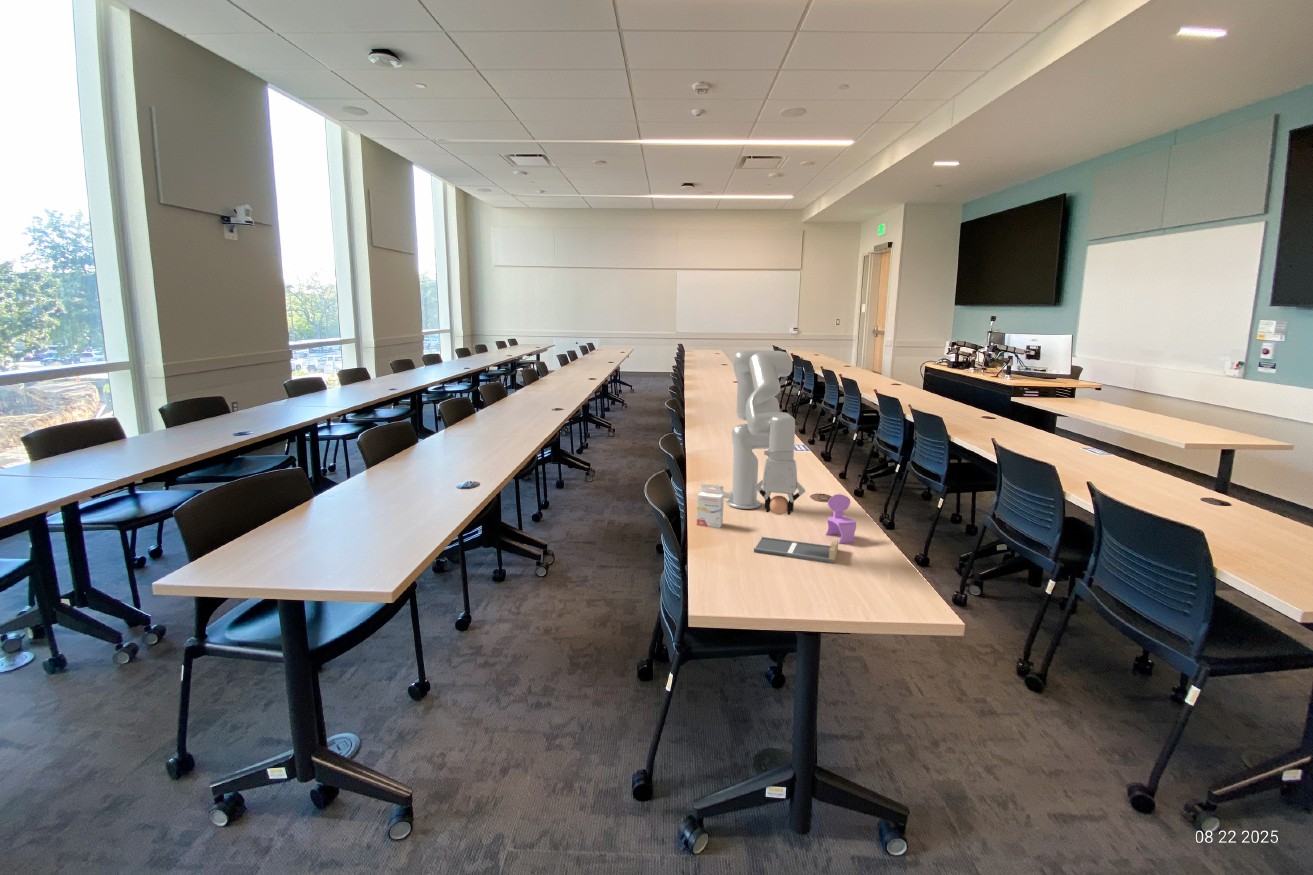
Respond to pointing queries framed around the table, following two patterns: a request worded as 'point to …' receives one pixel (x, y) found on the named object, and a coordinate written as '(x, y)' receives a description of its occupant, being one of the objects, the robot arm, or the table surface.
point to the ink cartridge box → (710, 506)
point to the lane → (798, 549)
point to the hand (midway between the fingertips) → (778, 511)
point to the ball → (778, 505)
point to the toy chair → (840, 519)
